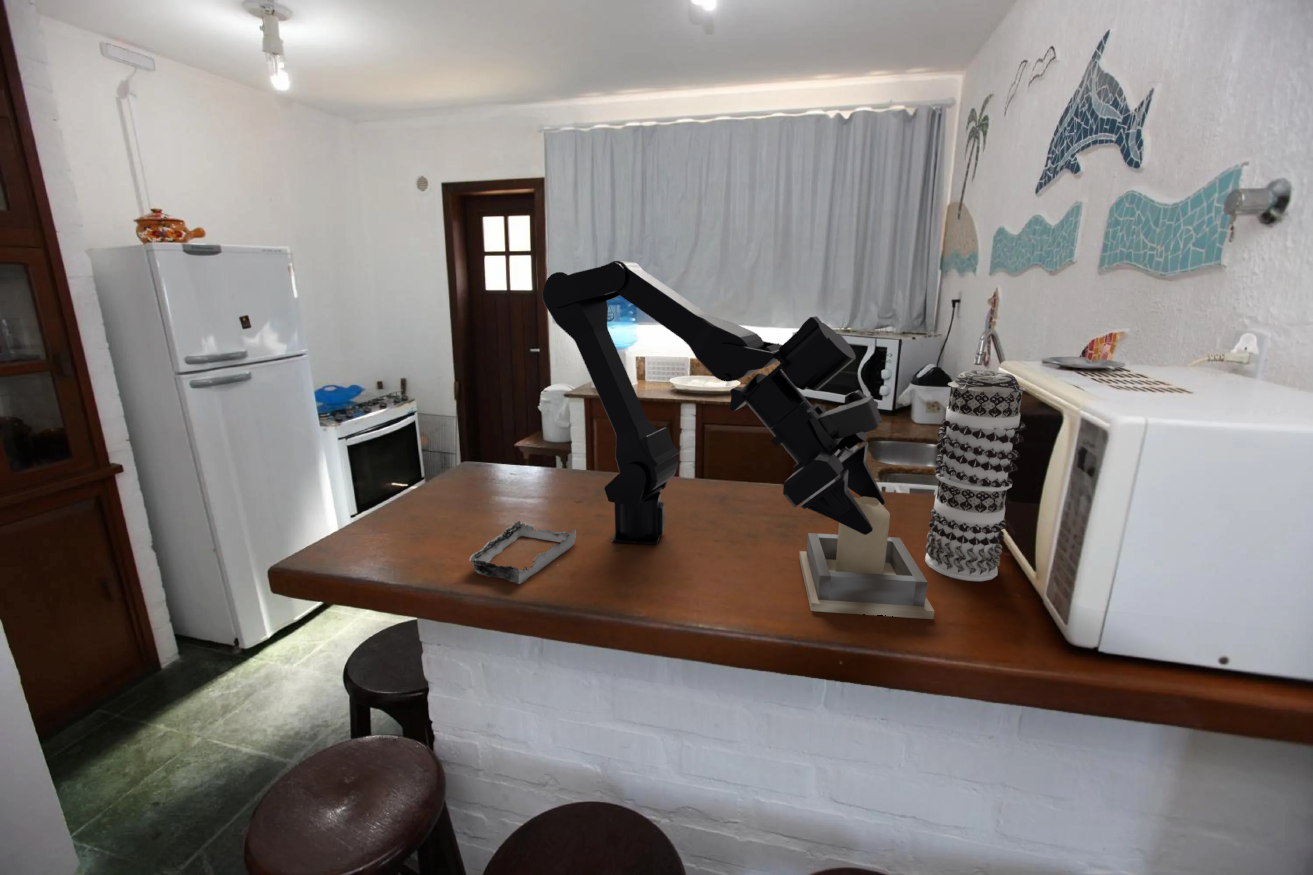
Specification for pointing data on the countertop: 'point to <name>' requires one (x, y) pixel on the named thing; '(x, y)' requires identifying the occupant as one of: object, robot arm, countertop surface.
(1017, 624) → the countertop surface
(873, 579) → the square tray
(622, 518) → the robot arm
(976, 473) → the decorative candle
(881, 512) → the candle
